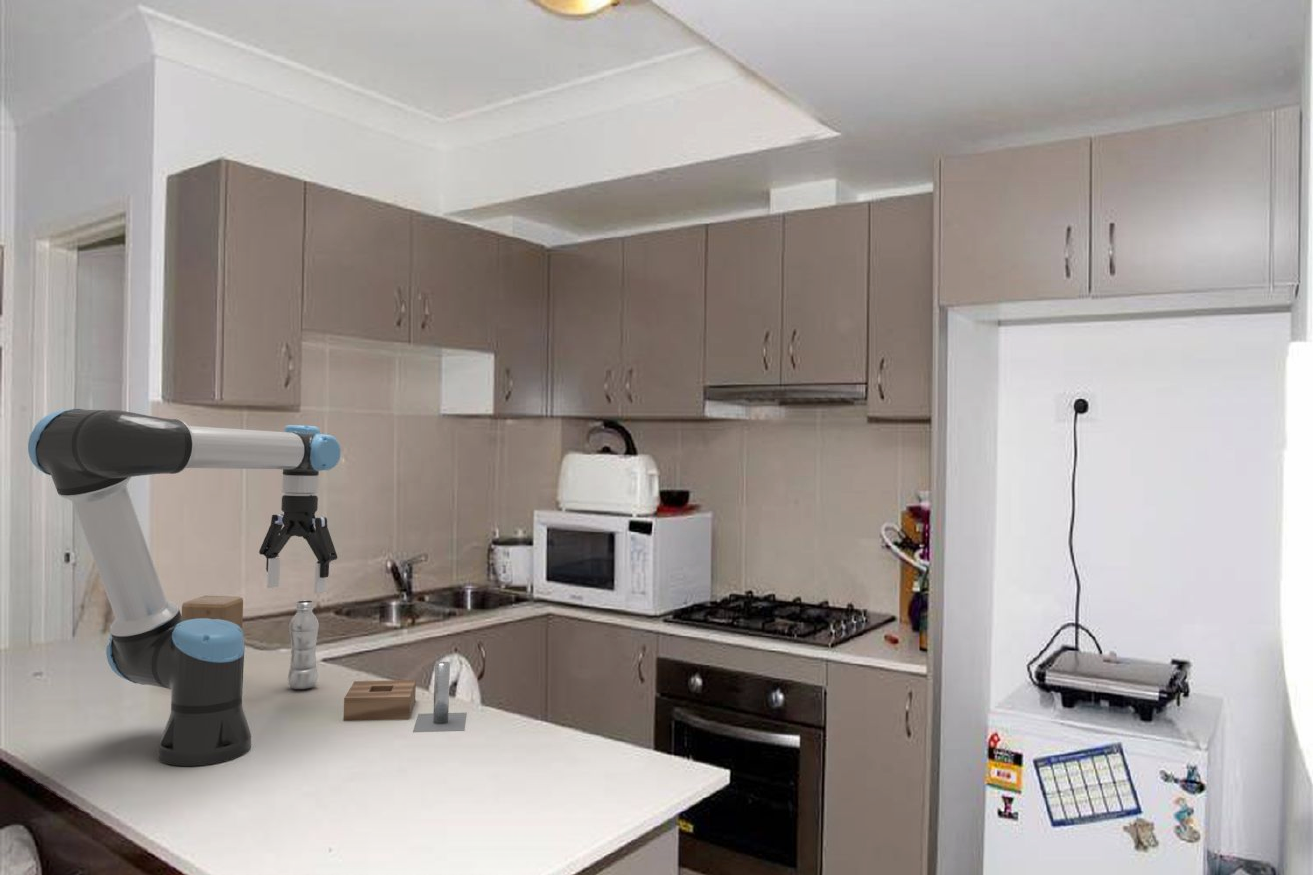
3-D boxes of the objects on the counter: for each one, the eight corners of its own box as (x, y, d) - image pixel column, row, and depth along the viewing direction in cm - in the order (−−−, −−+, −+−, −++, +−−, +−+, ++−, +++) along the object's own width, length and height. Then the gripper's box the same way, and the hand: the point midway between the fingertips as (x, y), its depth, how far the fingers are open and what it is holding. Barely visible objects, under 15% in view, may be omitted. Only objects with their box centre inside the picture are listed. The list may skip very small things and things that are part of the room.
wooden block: (221, 692, 201) (223, 603, 201) (177, 690, 201) (180, 602, 202) (242, 680, 211) (245, 595, 211) (200, 679, 211) (203, 594, 212)
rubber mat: (464, 732, 178) (464, 730, 178) (412, 733, 176) (412, 731, 176) (466, 714, 190) (466, 712, 190) (418, 715, 188) (418, 713, 188)
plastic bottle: (322, 685, 209) (325, 599, 209) (308, 693, 202) (311, 604, 202) (296, 683, 210) (299, 598, 210) (281, 691, 203) (284, 603, 203)
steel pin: (447, 723, 182) (449, 664, 182) (432, 724, 181) (434, 665, 181) (448, 719, 185) (450, 661, 185) (433, 719, 184) (435, 661, 184)
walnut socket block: (409, 720, 184) (409, 696, 184) (343, 722, 182) (344, 697, 182) (415, 702, 197) (415, 679, 197) (353, 703, 195) (354, 681, 195)
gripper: (356, 496, 198) (352, 592, 198) (270, 491, 208) (267, 582, 207) (332, 497, 191) (328, 596, 191) (244, 492, 201) (240, 586, 200)
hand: (296, 589), depth 199 cm, fingers open, 13 cm apart
